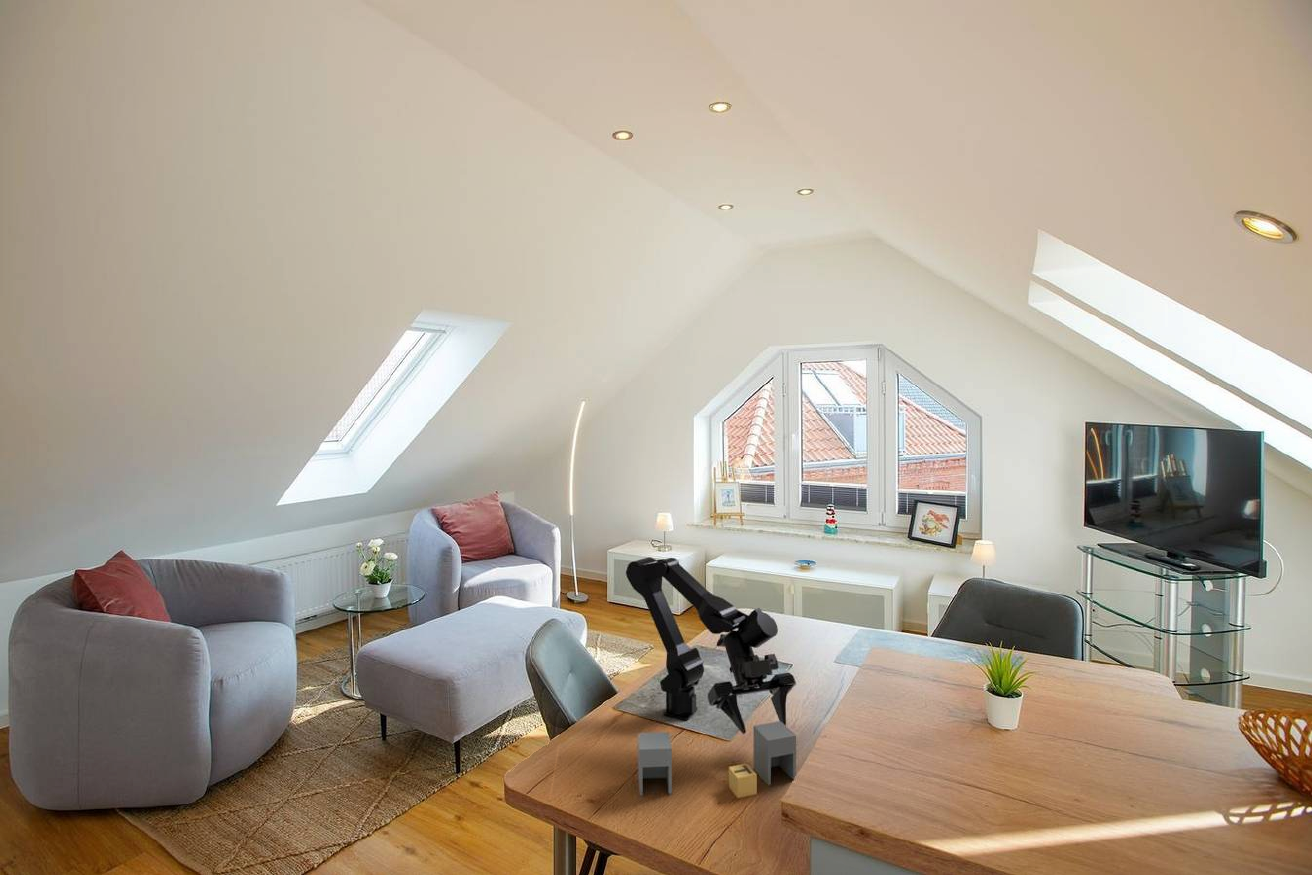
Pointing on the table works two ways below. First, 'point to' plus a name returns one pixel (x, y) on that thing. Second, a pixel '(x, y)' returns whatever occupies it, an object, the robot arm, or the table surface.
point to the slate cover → (654, 758)
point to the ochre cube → (742, 780)
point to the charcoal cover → (774, 750)
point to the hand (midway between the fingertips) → (764, 729)
